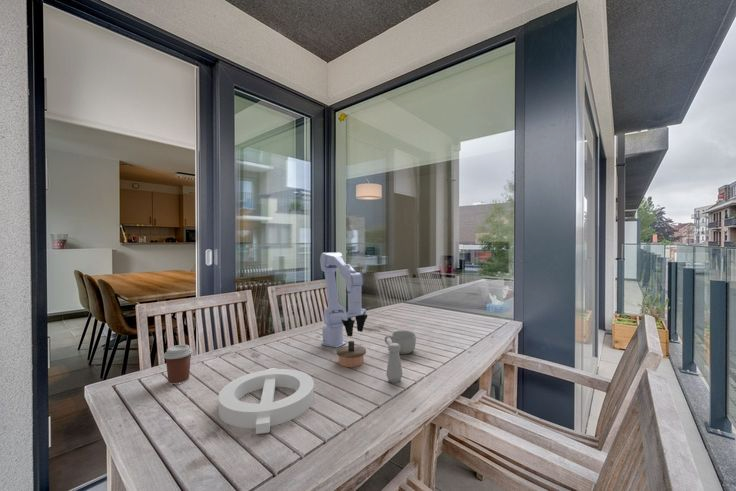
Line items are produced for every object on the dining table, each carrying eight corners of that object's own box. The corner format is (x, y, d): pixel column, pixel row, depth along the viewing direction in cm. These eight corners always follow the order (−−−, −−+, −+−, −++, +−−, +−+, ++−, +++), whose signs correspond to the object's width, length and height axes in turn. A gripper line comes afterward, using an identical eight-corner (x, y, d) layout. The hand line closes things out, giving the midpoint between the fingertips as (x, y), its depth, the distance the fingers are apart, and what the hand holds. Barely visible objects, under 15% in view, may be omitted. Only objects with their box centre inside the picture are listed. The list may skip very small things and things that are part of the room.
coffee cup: (189, 373, 120) (188, 341, 120) (196, 380, 113) (196, 347, 113) (161, 381, 113) (160, 347, 113) (167, 389, 107) (166, 354, 107)
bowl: (333, 363, 128) (333, 353, 128) (348, 355, 136) (348, 346, 136) (354, 368, 123) (354, 358, 122) (368, 360, 131) (367, 350, 131)
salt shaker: (404, 378, 114) (404, 342, 114) (400, 385, 108) (400, 347, 108) (388, 376, 116) (388, 340, 116) (384, 382, 110) (384, 345, 110)
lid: (330, 353, 128) (330, 343, 128) (349, 345, 138) (349, 335, 138) (353, 360, 121) (353, 348, 121) (371, 350, 131) (371, 340, 131)
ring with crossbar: (262, 442, 79) (261, 423, 79) (198, 410, 94) (198, 394, 94) (331, 394, 103) (331, 380, 103) (272, 375, 118) (272, 363, 118)
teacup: (415, 347, 146) (415, 330, 145) (416, 356, 135) (416, 337, 135) (385, 347, 147) (385, 330, 147) (384, 355, 136) (383, 337, 136)
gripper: (352, 305, 125) (352, 339, 125) (371, 299, 137) (372, 330, 138) (338, 303, 129) (338, 336, 129) (358, 298, 141) (358, 328, 141)
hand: (354, 333), depth 134 cm, fingers open, 7 cm apart
